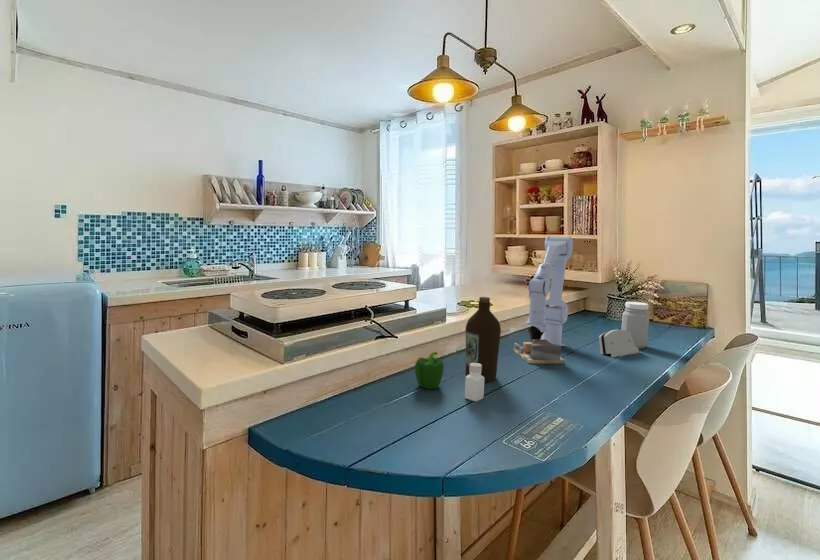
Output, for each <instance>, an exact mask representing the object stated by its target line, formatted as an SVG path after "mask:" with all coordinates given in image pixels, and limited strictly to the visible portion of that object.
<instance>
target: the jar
mask: <svg viewBox="0 0 820 560" xmlns="http://www.w3.org/2000/svg"><path fill="white" fill-rule="evenodd" d="M649 307H650V305H649V303H646V302H640V301H626V302H625V308H624V311H623V312H622V316H621V317H622V320H621V329H620V330H626V331H629V332H630V333H631V335H632V338H633V341H634V344H635V346H636V347H637V348H638V350H639V349H641V350H642V349H644V348H646V347H647V345H648V336H649V335H648V333H649V326H650V324H649V323H650V315H649V314H648V313H649V311H648V309H649Z"/></svg>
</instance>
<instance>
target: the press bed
mask: <svg viewBox="0 0 820 560" xmlns="http://www.w3.org/2000/svg"><path fill="white" fill-rule="evenodd" d="M512 351H513V352H514V353H516V354H517V355H518V356H519V357H520V356H521V357H520V358H522V359H523V360H524V361H525V362H526V363H527V364H565V362H566V361H565V359H564V358H562V357H561V355H562V353H561V352H562V346H560V345H559V344H531V349H530V352H524V351H523V346H521V345H520V344H518V343H517V342H514V343H513V350H512Z"/></svg>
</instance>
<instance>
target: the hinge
mask: <svg viewBox="0 0 820 560" xmlns="http://www.w3.org/2000/svg"><path fill="white" fill-rule="evenodd" d="M598 343H599V350H600V351H599V352H600V355H605V354H606V355H608V354H610V356H611V358H616V357H617V356H618V357H623V356H627V355H634V354H640V350H639V349H638V348H637V347H636V346H635V344H634V341H633V338H632V335H631V333H630V332H629V331H626V330H621V329H611V330H608V331H605V332H603V333H602V334H600V335H599V336H598Z"/></svg>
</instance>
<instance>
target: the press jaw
mask: <svg viewBox="0 0 820 560" xmlns="http://www.w3.org/2000/svg"><path fill="white" fill-rule="evenodd" d="M531 344H532V342H531V341H523V342H522V347H523V351H524V352H530V349H531Z"/></svg>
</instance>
